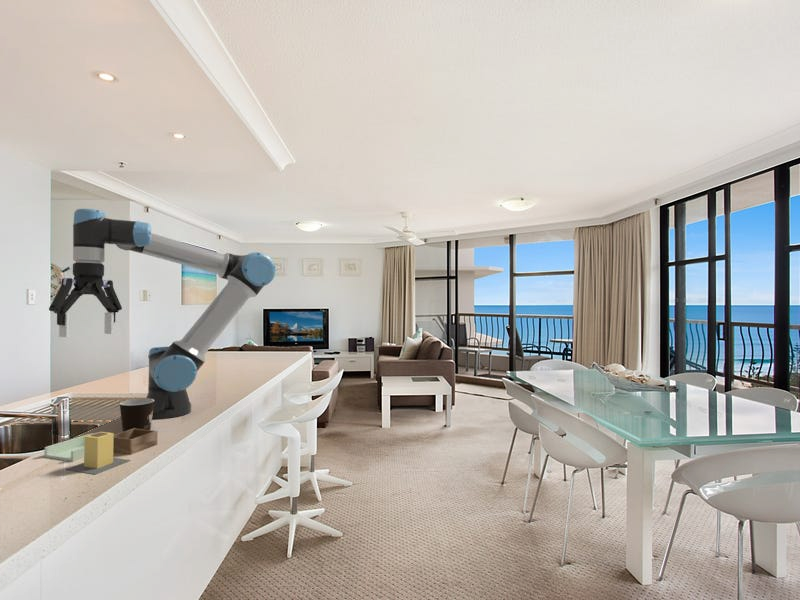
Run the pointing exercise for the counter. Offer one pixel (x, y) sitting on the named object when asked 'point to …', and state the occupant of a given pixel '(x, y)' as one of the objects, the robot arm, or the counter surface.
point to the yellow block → (98, 450)
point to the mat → (96, 471)
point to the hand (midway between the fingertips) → (87, 335)
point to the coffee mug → (136, 413)
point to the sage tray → (67, 449)
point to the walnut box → (134, 440)
